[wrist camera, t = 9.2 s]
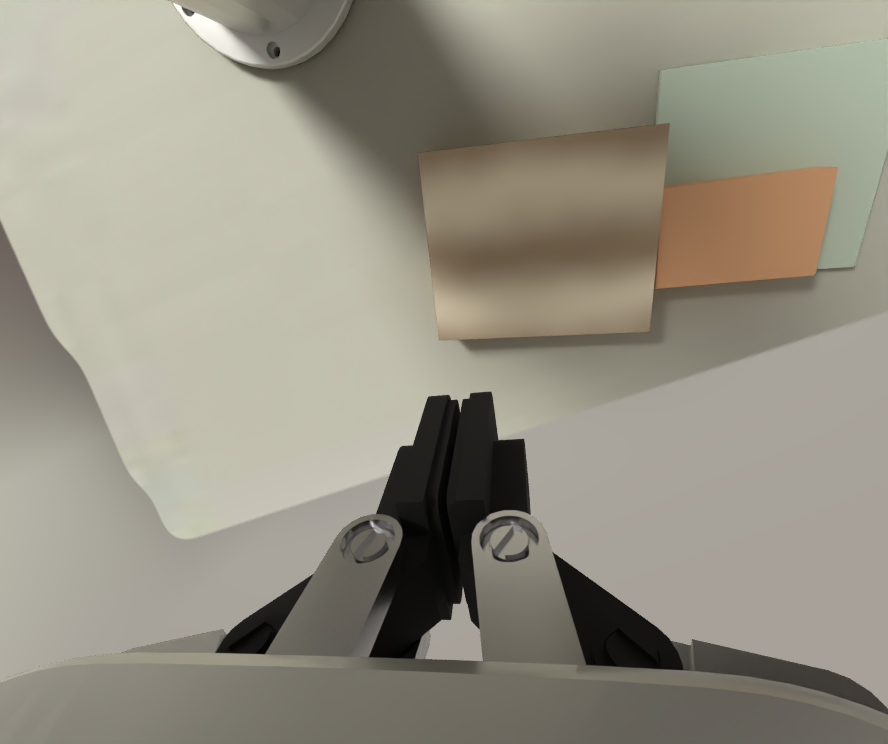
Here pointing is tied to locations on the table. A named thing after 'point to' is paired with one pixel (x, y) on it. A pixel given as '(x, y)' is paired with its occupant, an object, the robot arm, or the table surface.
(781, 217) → the tile
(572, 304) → the plate
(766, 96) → the mat
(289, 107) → the table surface
